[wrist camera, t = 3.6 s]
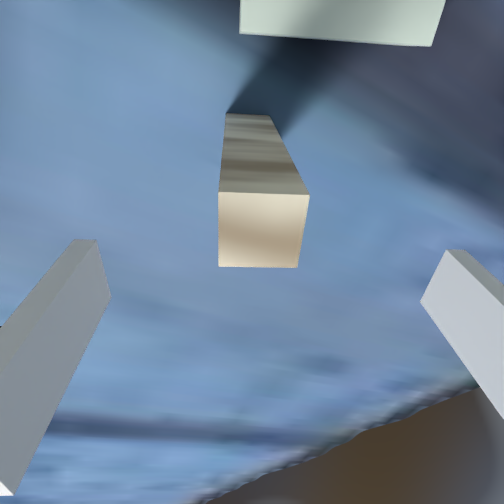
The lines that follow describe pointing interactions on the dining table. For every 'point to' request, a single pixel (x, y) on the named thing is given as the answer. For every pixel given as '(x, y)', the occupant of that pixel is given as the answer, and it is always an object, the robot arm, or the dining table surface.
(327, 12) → the mounting block
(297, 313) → the dining table surface
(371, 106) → the dining table surface
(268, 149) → the rail post
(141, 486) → the dining table surface
